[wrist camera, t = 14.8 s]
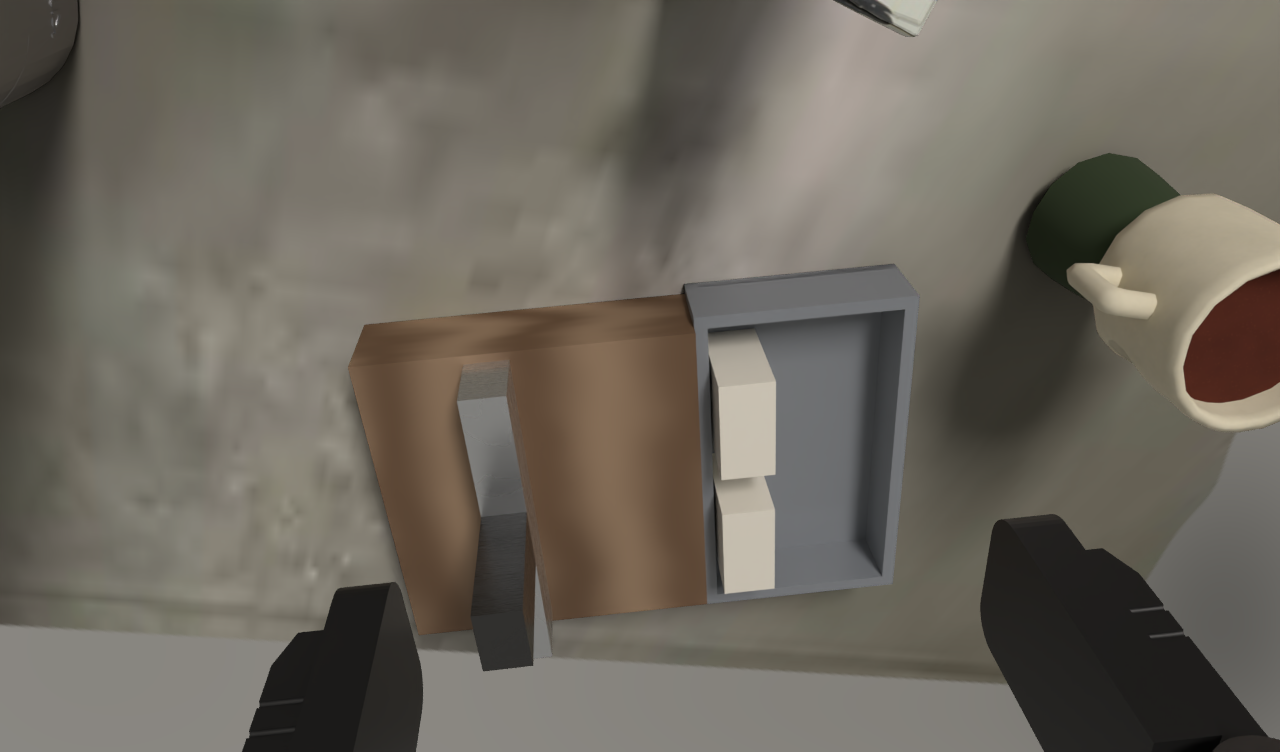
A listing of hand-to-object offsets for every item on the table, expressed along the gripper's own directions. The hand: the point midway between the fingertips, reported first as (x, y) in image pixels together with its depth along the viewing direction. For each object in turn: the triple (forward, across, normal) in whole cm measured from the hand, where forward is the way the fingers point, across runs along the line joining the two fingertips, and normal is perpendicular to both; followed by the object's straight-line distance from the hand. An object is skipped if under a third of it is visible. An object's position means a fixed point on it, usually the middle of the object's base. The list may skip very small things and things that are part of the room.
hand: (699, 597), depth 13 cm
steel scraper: (+26, +6, +18) cm, 32 cm away
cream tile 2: (+27, -4, +22) cm, 35 cm away
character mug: (+30, -22, +8) cm, 38 cm away
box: (+30, -8, +18) cm, 36 cm away
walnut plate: (+30, +4, +18) cm, 35 cm away
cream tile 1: (+27, -4, +14) cm, 31 cm away
